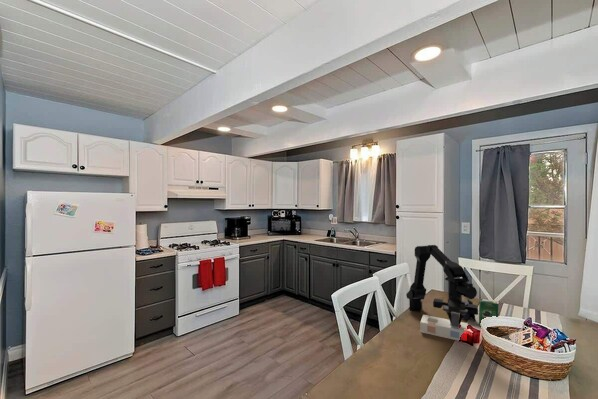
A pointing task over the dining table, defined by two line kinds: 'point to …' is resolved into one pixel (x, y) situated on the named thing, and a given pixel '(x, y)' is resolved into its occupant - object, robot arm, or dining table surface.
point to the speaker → (468, 312)
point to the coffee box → (487, 309)
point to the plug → (455, 319)
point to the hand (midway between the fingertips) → (455, 323)
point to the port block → (441, 327)
